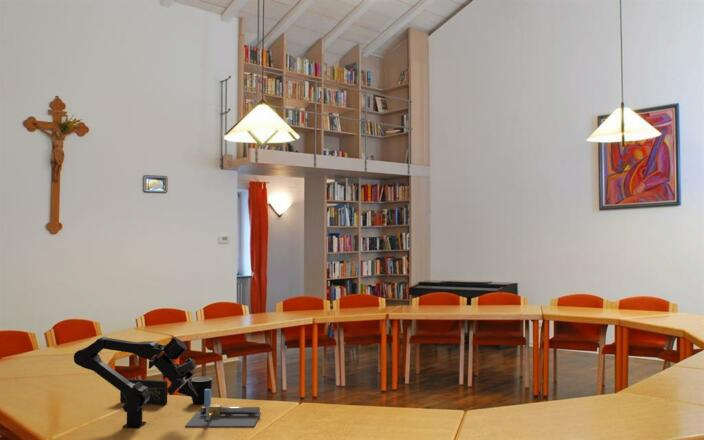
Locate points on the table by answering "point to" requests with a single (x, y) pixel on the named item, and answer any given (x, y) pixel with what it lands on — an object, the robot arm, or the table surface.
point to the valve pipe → (229, 410)
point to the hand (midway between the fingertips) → (197, 397)
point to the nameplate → (151, 391)
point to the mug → (201, 388)
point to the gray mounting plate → (224, 421)
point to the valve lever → (207, 403)
